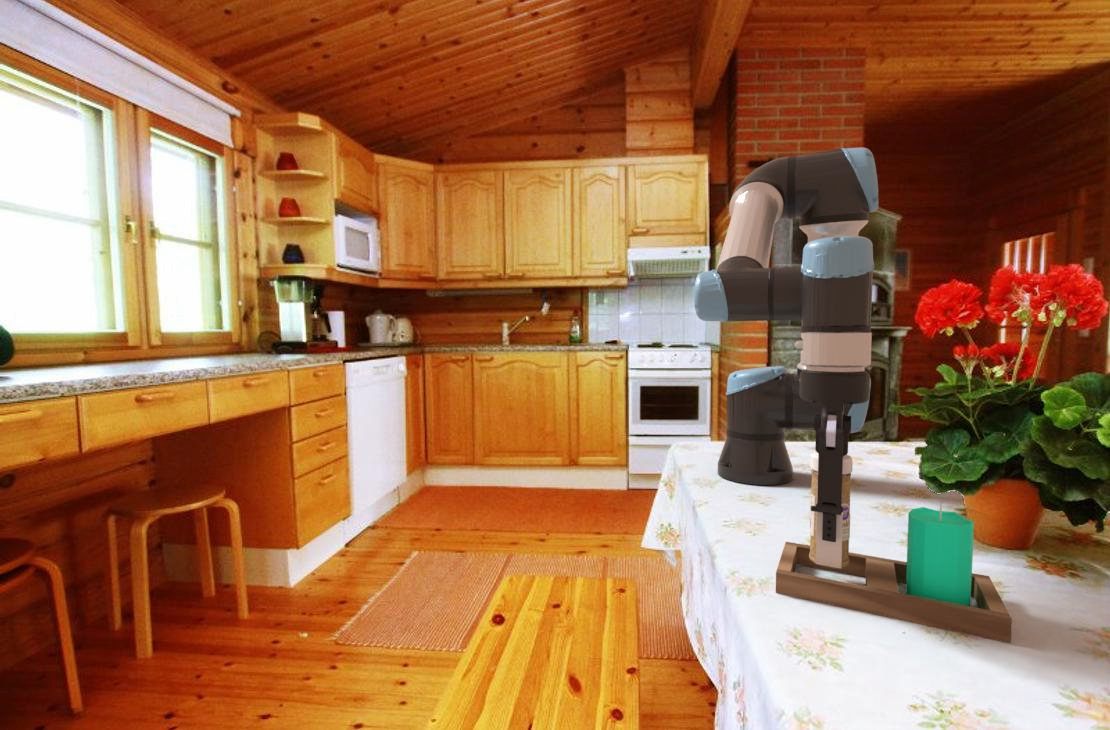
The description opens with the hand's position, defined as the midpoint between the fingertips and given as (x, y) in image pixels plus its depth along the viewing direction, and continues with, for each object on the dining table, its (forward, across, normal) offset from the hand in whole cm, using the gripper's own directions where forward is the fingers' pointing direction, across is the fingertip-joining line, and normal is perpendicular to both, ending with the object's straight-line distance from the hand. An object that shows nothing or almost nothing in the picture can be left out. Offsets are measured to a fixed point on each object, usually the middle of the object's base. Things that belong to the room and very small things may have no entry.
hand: (829, 556), depth 66 cm
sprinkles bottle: (+1, 0, 0) cm, 1 cm away
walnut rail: (+4, 0, +6) cm, 7 cm away
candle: (+4, 0, +11) cm, 12 cm away
